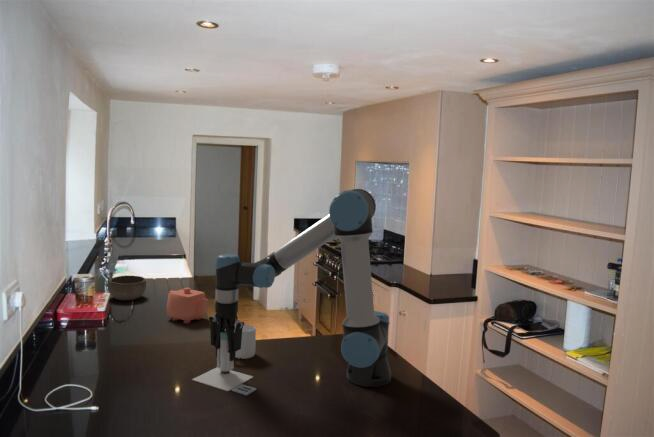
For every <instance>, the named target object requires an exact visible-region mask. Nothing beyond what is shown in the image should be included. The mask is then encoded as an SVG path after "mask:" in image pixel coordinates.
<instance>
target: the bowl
mask: <svg viewBox="0 0 654 437" xmlns="http://www.w3.org/2000/svg"><path fill="white" fill-rule="evenodd" d="M146 288H147V281H146V278H145V277H143V276H140V275H120V276H115V277H112V278H110V279H109V281H108V290H109V293H110V294H111V296H112V297H113V298H114V299H115V300H118V301H123V302H124V301H133V300H137V299H140V298H141V297H142V296H143V295H144V293H145V292H146Z"/></svg>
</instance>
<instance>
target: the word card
mask: <svg viewBox="0 0 654 437" xmlns="http://www.w3.org/2000/svg"><path fill="white" fill-rule="evenodd" d="M230 391H232V392H234V393H237V394H240V395H244V396H248V395H250V394H252V393H253V392H255V391H257V388H256V387H253V386H249V385H247V384H244V383H242V384H240V385H239V386H237V387H235V388H233V389H232V390H230Z"/></svg>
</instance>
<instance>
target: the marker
mask: <svg viewBox="0 0 654 437" xmlns="http://www.w3.org/2000/svg"><path fill="white" fill-rule="evenodd" d="M220 339H221V340H220V370H221V373H222V374H228V373H230V371H227V352H228V351H229V345H228V337H227V332H226V329H225V331H222V332H220Z"/></svg>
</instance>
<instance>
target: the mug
mask: <svg viewBox="0 0 654 437" xmlns="http://www.w3.org/2000/svg"><path fill="white" fill-rule="evenodd" d="M235 328H236V327H235ZM234 331H235V330H234ZM256 332H257V327H256V326H255V325H252V324H251V325H250V324H244V326H243V328H242V340H241V349H240V350H238V351H236V354H235V359H236V358H237V359H240V358H241V359H243V360H244V359H245V360H246V359H250V358H253V357H254V356H255V355H256V342H257V341H256V340H257V339H256V338H257V336H256V335H257V333H256Z"/></svg>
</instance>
